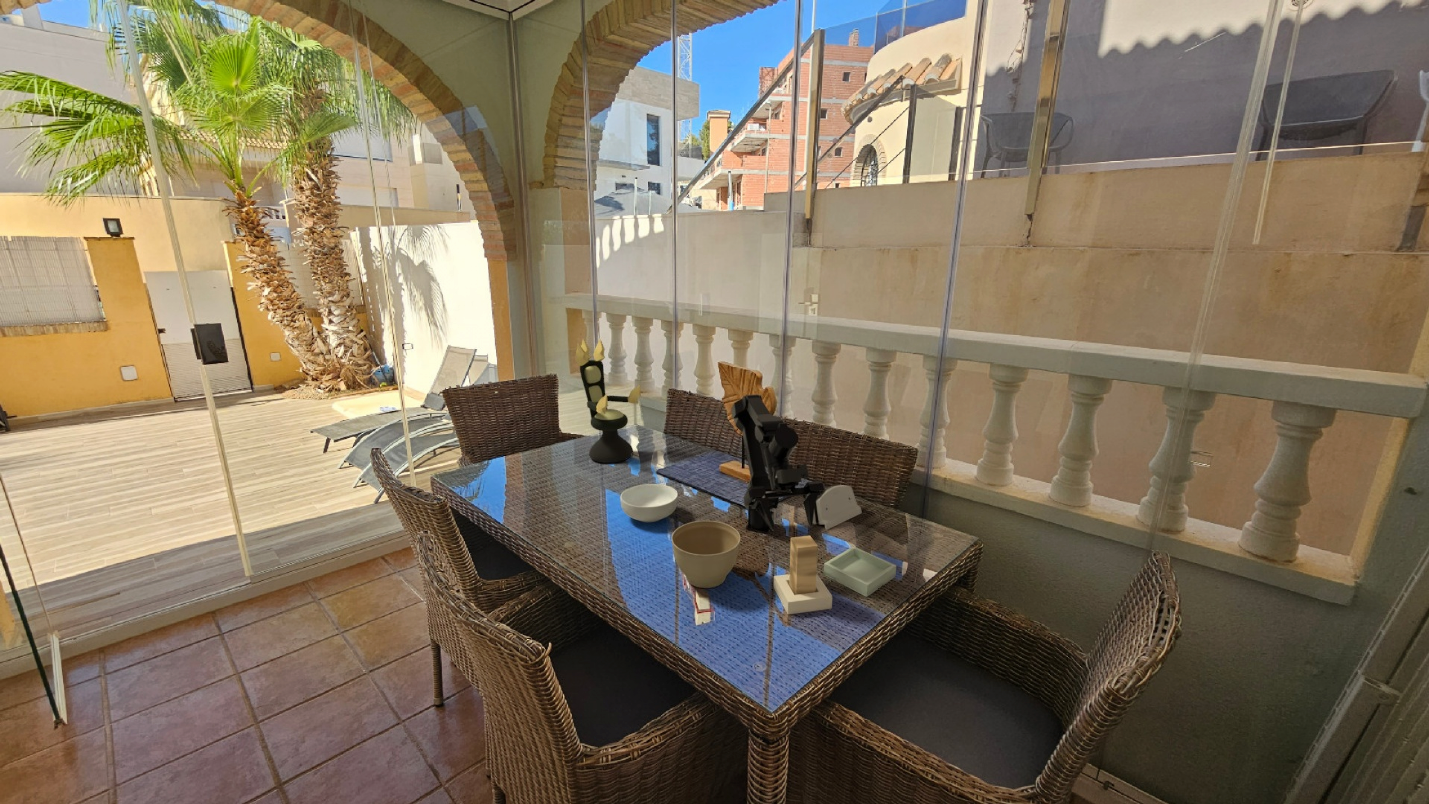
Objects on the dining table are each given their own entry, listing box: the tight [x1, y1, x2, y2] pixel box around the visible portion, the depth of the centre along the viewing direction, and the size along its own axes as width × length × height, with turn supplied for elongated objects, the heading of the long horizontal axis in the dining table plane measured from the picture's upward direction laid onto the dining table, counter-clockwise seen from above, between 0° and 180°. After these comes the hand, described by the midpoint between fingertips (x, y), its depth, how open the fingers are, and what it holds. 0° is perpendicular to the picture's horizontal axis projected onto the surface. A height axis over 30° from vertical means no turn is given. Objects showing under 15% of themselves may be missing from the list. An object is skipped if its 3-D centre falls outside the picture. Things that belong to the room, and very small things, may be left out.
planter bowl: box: [670, 520, 741, 589], centre depth 128 cm, size 16×16×11 cm
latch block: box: [773, 572, 833, 615], centre depth 121 cm, size 10×10×3 cm
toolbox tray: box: [823, 546, 897, 598], centre depth 130 cm, size 12×12×3 cm
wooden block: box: [789, 535, 819, 595], centre depth 120 cm, size 4×4×14 cm
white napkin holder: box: [813, 484, 863, 530], centre depth 159 cm, size 17×5×10 cm, turn 129°
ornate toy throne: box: [574, 338, 642, 464], centre depth 204 cm, size 19×22×45 cm
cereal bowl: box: [620, 483, 679, 523], centre depth 160 cm, size 17×17×7 cm
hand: (792, 528), depth 126 cm, fingers open, 9 cm apart
